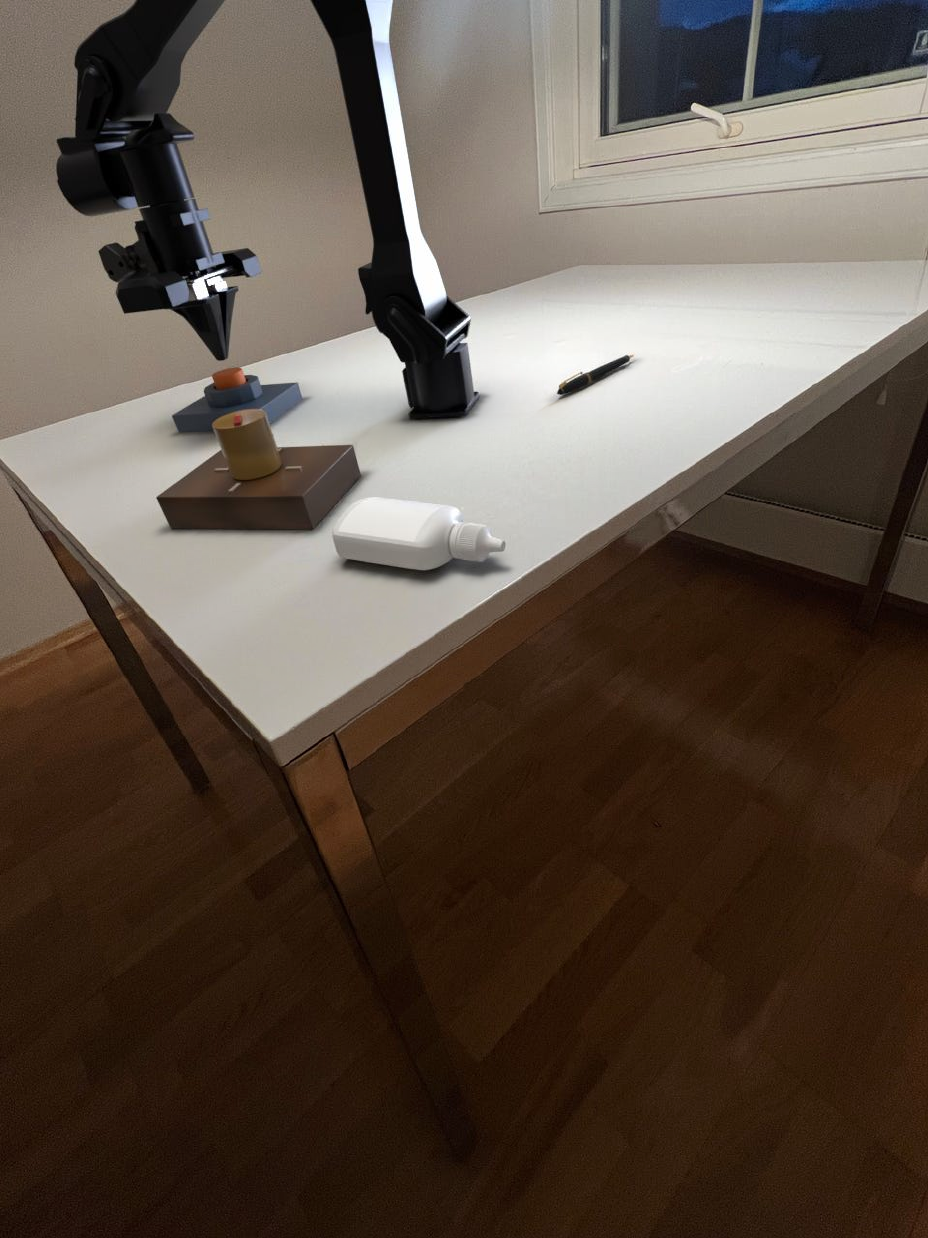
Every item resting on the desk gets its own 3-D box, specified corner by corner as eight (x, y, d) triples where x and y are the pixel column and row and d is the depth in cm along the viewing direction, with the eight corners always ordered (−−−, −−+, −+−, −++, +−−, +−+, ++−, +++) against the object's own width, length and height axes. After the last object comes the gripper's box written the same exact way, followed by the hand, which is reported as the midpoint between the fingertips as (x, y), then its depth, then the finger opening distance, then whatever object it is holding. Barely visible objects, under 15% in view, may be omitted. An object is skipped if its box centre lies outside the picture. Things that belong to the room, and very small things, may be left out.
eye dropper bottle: (330, 494, 43) (487, 511, 38) (378, 497, 48) (523, 512, 43) (327, 558, 44) (480, 583, 39) (374, 554, 49) (516, 576, 44)
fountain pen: (630, 359, 74) (631, 346, 73) (639, 360, 74) (639, 346, 73) (552, 398, 67) (551, 384, 66) (561, 400, 66) (560, 385, 66)
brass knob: (232, 466, 56) (212, 412, 53) (281, 454, 57) (264, 401, 54) (230, 485, 52) (208, 428, 50) (283, 472, 53) (264, 416, 50)
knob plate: (361, 475, 58) (352, 442, 56) (313, 529, 50) (301, 493, 49) (232, 477, 62) (220, 447, 60) (170, 528, 55) (154, 495, 53)
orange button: (252, 380, 77) (247, 366, 76) (236, 390, 75) (231, 375, 74) (227, 382, 78) (222, 368, 77) (211, 392, 76) (205, 377, 75)
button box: (303, 399, 81) (293, 367, 78) (263, 429, 73) (251, 394, 71) (223, 404, 84) (212, 373, 82) (178, 433, 77) (164, 400, 74)
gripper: (160, 204, 75) (210, 343, 84) (39, 226, 61) (115, 390, 70) (240, 190, 71) (283, 336, 81) (131, 209, 57) (198, 383, 67)
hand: (222, 359), depth 75 cm, fingers closed
